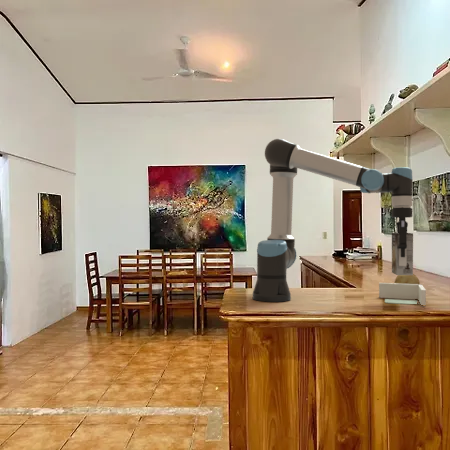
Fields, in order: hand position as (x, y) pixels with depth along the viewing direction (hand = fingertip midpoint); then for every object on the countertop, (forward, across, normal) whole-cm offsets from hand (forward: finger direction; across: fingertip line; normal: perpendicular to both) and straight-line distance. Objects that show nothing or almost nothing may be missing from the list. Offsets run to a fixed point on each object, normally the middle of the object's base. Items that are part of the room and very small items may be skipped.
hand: (402, 264), depth 188 cm
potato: (+15, +20, -3) cm, 25 cm away
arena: (+15, +2, 0) cm, 15 cm away
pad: (+15, 0, 0) cm, 15 cm away
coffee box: (+4, 0, 0) cm, 4 cm away
